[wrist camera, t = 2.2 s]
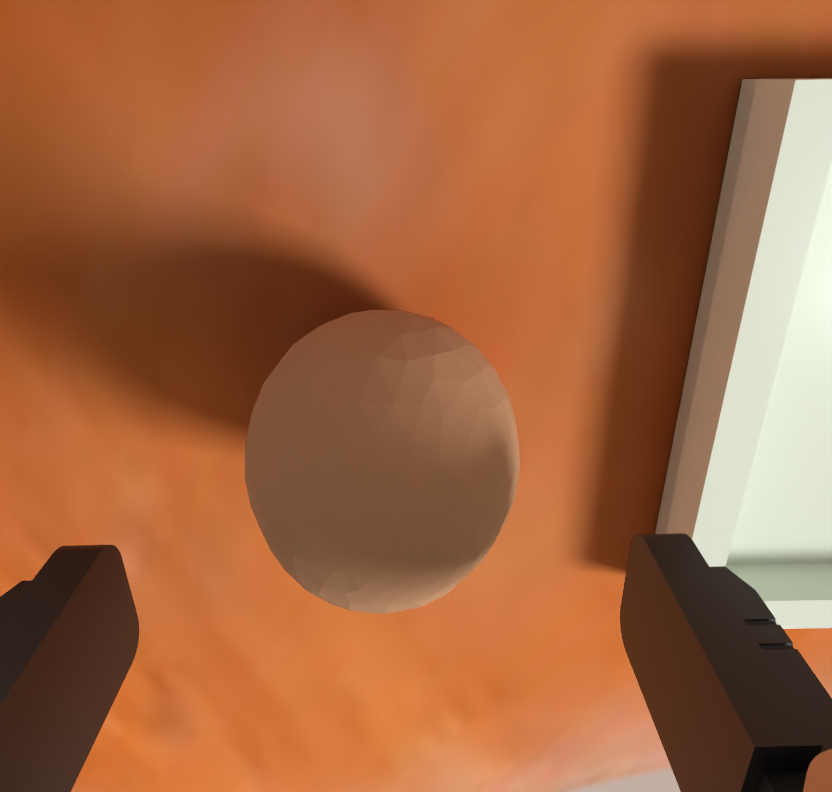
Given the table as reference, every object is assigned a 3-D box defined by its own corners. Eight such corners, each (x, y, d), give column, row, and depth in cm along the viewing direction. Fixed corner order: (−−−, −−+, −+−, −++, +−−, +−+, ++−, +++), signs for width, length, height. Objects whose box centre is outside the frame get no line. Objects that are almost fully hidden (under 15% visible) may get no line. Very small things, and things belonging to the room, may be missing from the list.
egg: (233, 370, 16) (118, 564, 10) (396, 223, 14) (386, 339, 8) (381, 504, 18) (367, 740, 11) (540, 387, 16) (624, 586, 10)
